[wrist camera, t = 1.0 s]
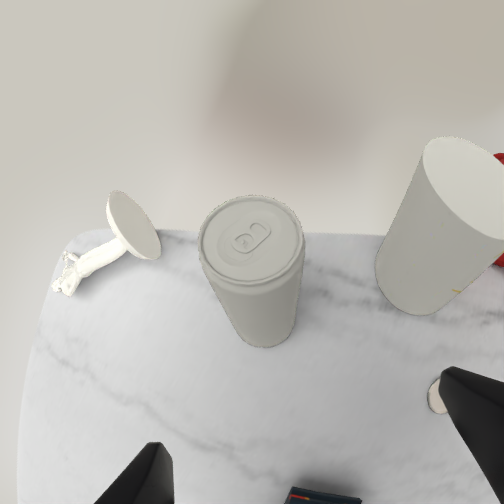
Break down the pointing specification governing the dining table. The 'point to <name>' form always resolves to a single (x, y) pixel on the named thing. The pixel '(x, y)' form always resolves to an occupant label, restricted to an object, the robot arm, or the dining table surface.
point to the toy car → (317, 498)
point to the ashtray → (436, 399)
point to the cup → (443, 227)
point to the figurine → (113, 242)
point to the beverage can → (254, 265)
